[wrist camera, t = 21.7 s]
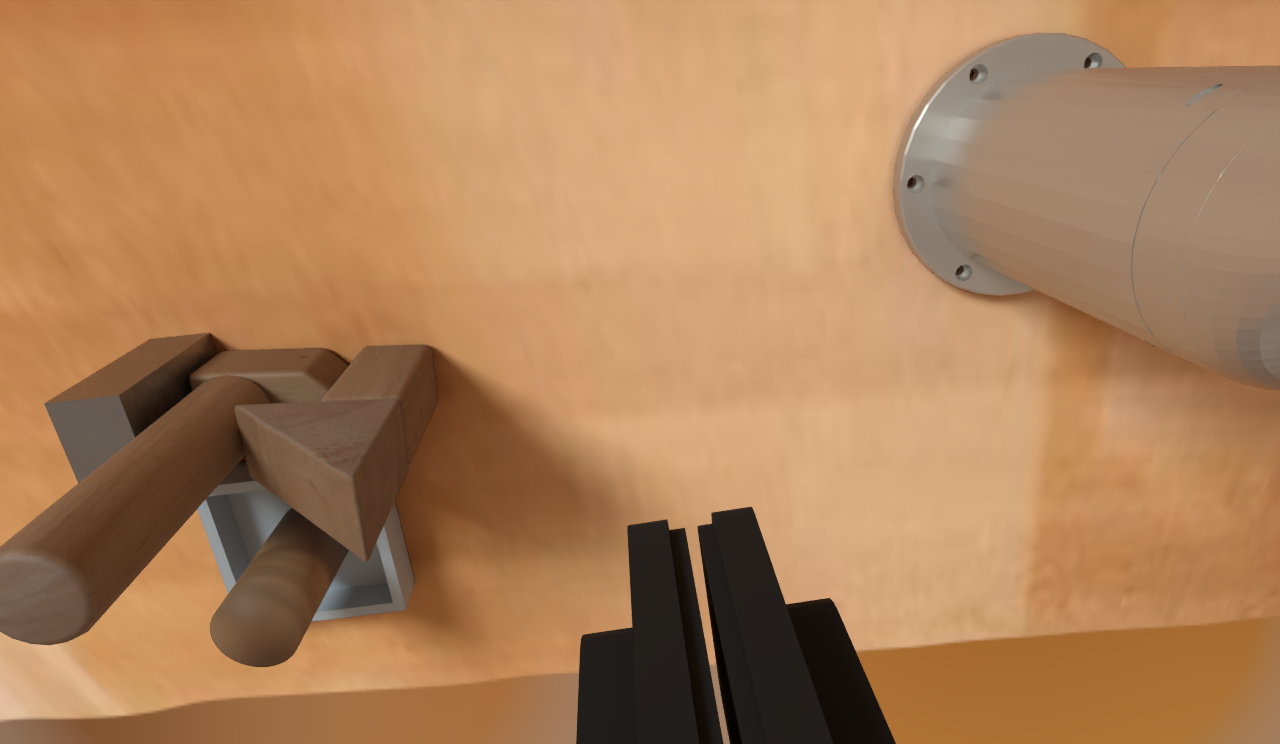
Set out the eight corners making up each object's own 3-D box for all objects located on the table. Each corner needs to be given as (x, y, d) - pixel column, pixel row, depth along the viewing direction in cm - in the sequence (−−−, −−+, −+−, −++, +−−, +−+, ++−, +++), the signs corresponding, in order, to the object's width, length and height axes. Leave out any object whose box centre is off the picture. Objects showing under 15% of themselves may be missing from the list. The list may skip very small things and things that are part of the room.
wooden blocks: (439, 405, 40) (338, 637, 24) (235, 412, 40) (-17, 656, 23) (432, 340, 39) (318, 539, 22) (220, 347, 38) (-60, 556, 22)
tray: (381, 445, 41) (368, 467, 39) (415, 582, 44) (405, 610, 42) (212, 464, 41) (189, 488, 38) (259, 600, 44) (241, 630, 42)
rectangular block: (209, 332, 38) (118, 395, 31) (243, 437, 40) (166, 519, 33) (149, 339, 38) (44, 403, 31) (187, 444, 40) (97, 527, 33)
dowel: (335, 494, 41) (275, 590, 34) (364, 552, 43) (313, 655, 35) (267, 512, 41) (193, 611, 34) (299, 569, 43) (235, 675, 36)
